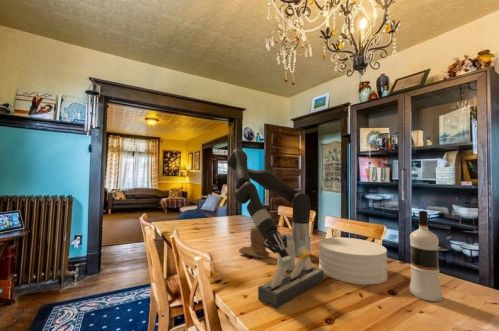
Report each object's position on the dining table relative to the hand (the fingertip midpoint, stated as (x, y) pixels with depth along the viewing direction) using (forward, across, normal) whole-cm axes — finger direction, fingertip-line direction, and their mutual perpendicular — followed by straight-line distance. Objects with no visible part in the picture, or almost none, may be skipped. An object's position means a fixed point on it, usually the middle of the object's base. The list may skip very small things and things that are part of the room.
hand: (287, 260), depth 90 cm
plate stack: (+15, -34, 0) cm, 37 cm away
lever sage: (+6, +11, -2) cm, 12 cm away
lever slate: (+6, -11, -2) cm, 13 cm away
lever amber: (+6, 0, -2) cm, 6 cm away
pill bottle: (-1, -15, -16) cm, 22 cm away
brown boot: (-16, -18, -31) cm, 40 cm away
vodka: (+34, -30, +20) cm, 50 cm away
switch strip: (+9, 0, -5) cm, 10 cm away
